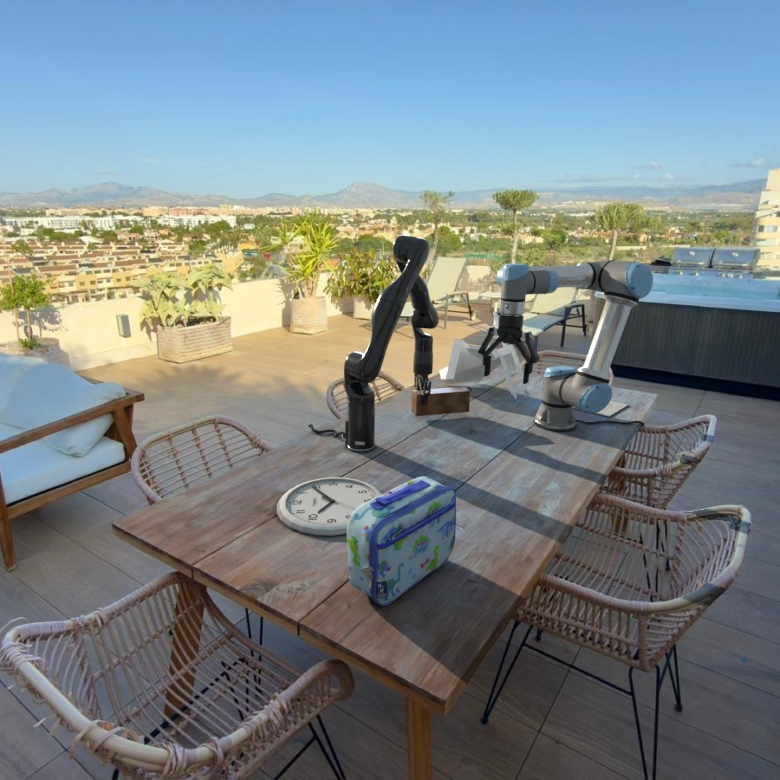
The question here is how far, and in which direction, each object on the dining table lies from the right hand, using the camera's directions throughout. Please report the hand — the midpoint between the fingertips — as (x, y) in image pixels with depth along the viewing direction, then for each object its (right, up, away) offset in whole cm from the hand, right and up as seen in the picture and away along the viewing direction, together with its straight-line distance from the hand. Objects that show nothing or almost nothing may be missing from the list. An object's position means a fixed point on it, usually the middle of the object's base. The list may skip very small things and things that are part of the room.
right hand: (505, 379), depth 170 cm
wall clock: (-54, -35, -28) cm, 70 cm away
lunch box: (-35, -44, -56) cm, 80 cm away
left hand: (-25, -8, +37) cm, 46 cm away
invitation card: (+54, -11, +56) cm, 78 cm away
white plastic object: (+4, -5, +73) cm, 73 cm away
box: (-18, -12, +41) cm, 46 cm away
